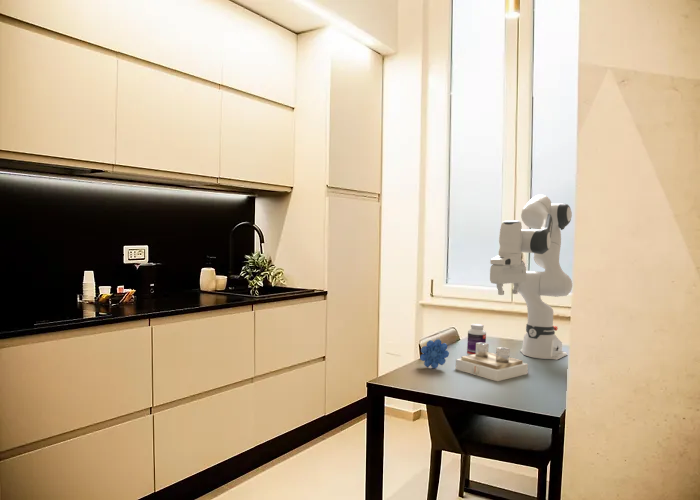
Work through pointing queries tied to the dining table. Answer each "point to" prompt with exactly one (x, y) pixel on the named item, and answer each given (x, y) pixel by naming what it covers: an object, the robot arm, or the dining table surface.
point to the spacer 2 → (502, 354)
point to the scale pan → (491, 361)
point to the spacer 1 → (482, 349)
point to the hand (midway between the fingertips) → (508, 294)
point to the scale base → (492, 370)
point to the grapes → (434, 353)
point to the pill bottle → (475, 337)
